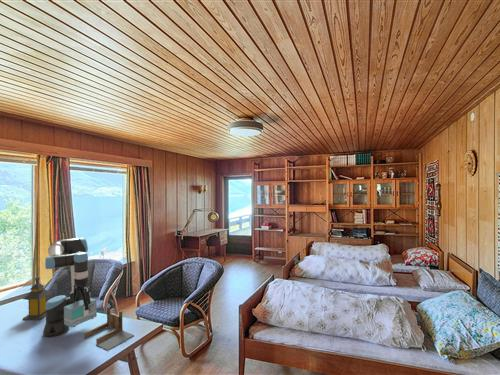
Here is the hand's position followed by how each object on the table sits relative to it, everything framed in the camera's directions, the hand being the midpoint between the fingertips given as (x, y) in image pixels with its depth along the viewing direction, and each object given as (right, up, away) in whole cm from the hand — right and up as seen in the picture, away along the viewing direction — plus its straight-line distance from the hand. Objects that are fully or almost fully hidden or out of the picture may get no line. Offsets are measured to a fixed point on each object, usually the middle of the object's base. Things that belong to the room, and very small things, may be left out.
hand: (81, 313), depth 176 cm
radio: (0, -6, 0) cm, 6 cm away
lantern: (-59, -21, +41) cm, 74 cm away
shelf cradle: (+6, -21, +15) cm, 27 cm away
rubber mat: (+18, -21, +7) cm, 29 cm away
